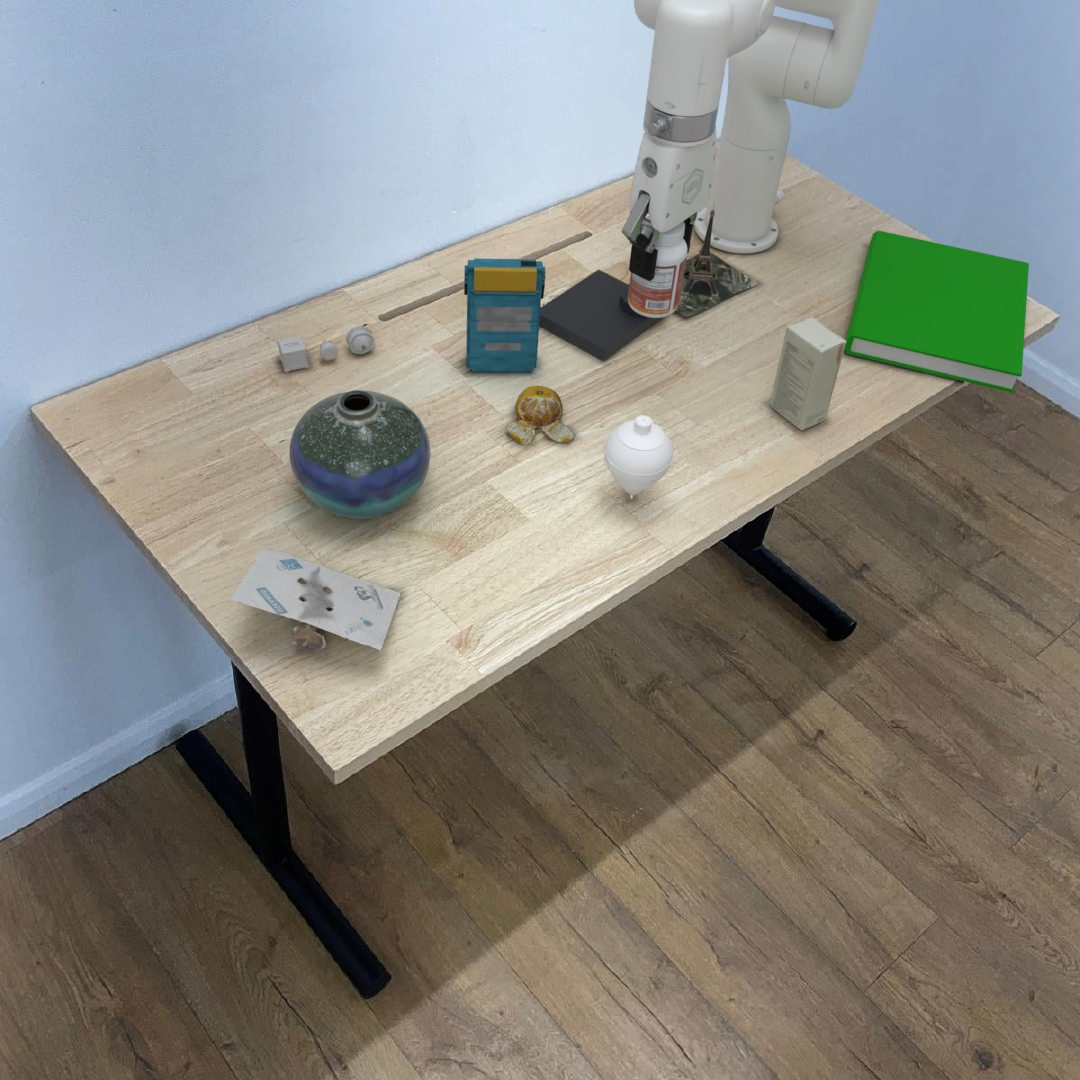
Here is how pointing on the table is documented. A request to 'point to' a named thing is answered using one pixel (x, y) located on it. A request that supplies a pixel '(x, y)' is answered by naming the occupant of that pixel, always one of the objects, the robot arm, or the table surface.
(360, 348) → the toy set
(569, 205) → the table surface
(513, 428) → the fruit
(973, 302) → the book
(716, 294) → the eiffel tower figurine
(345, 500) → the vase
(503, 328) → the teal case
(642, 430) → the spinning top
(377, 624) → the card
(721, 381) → the table surface
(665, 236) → the pill bottle
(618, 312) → the dark grey button base
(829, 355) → the cosmetic box
